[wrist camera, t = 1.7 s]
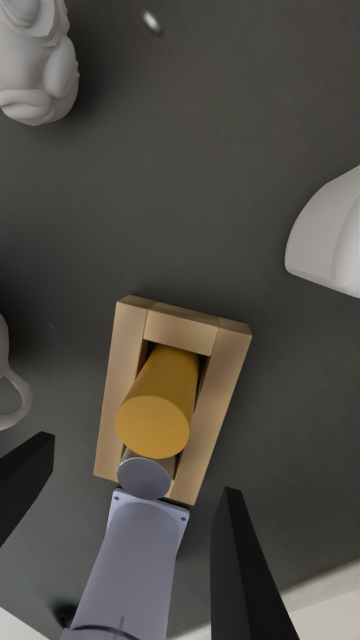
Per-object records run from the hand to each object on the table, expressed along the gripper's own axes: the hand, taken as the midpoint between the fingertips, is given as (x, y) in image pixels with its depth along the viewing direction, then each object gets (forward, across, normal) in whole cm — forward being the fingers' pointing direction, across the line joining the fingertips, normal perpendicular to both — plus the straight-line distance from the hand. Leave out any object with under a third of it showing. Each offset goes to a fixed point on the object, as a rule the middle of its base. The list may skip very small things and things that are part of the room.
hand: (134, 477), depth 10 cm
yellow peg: (+10, 0, 0) cm, 10 cm away
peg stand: (+10, 0, +4) cm, 11 cm away
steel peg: (+10, 0, +7) cm, 12 cm away
